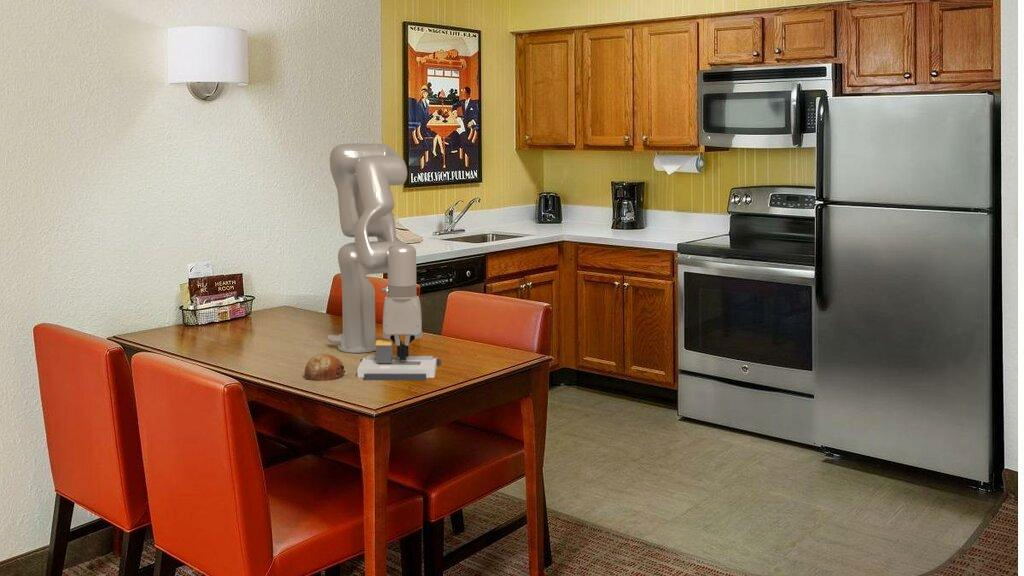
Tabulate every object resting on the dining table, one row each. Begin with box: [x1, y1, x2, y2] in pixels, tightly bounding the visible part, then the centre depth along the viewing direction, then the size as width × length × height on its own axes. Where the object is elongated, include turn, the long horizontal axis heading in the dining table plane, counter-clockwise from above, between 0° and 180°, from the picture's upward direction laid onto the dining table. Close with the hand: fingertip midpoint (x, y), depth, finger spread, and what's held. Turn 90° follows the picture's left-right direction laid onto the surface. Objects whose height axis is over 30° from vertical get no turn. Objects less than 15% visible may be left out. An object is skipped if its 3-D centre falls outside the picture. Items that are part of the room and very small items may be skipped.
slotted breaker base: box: [357, 355, 438, 379], centre depth 258 cm, size 20×12×3 cm, turn 91°
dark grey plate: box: [360, 358, 442, 381], centre depth 259 cm, size 22×18×1 cm
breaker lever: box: [375, 339, 394, 363], centre depth 258 cm, size 4×3×6 cm
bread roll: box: [304, 353, 346, 382], centre depth 253 cm, size 10×10×8 cm
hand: (402, 359), depth 258 cm, fingers closed
